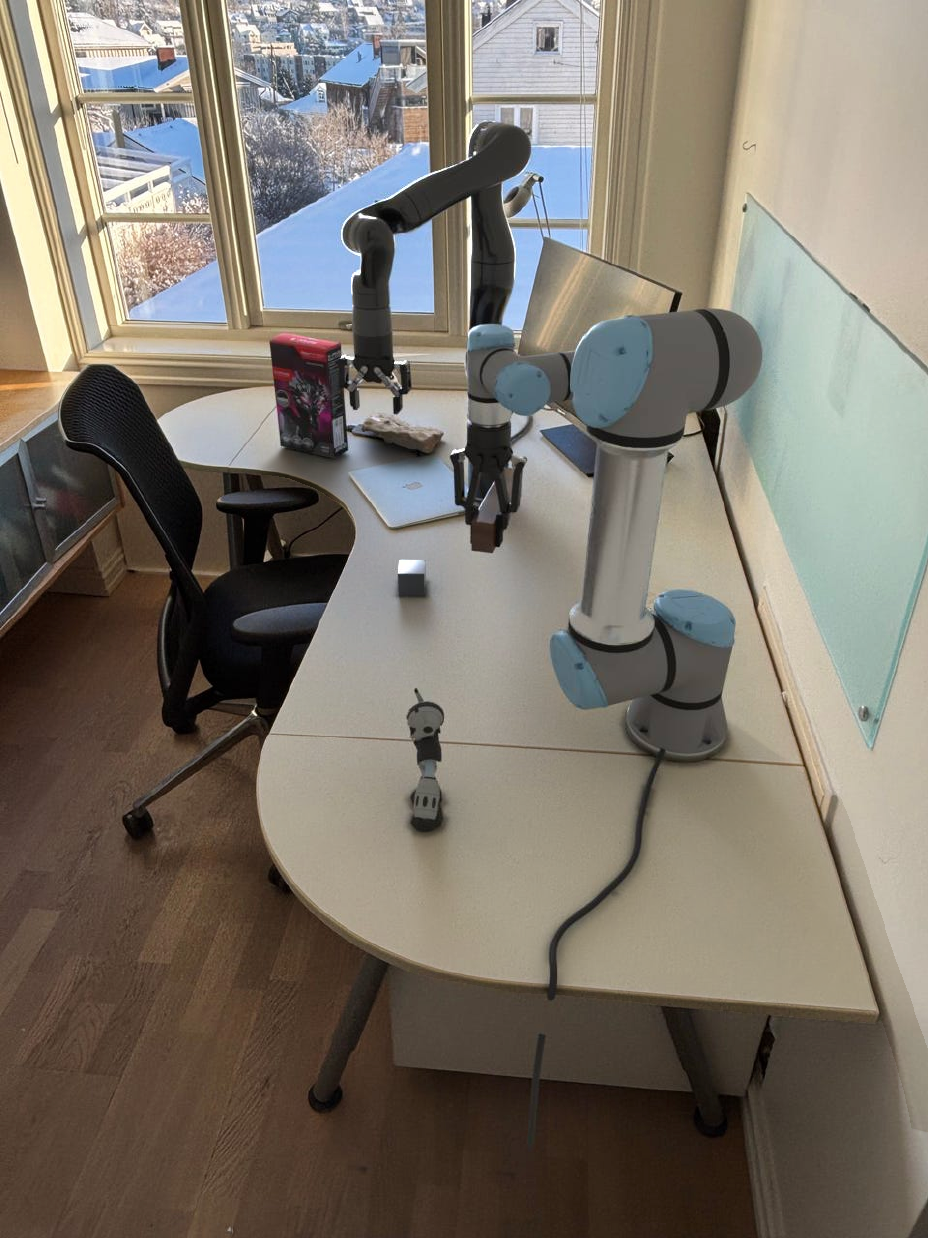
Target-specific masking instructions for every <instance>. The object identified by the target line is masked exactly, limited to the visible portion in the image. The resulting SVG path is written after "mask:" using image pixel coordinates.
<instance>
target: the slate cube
mask: <svg viewBox="0 0 928 1238" xmlns="http://www.w3.org/2000/svg"><path fill="white" fill-rule="evenodd" d="M426 567H427V565H426V559H399V561H398V568H397V591H398V597H426V585H427V568H426Z"/></svg>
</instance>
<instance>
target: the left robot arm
mask: <svg viewBox="0 0 928 1238" xmlns="http://www.w3.org/2000/svg"><path fill="white" fill-rule="evenodd" d="M466 150H467V151H466V154H467V159H465V160H463V161H461V162H459V163H457V164H455V165H452V166H450V167H446V168H443V169H441V170H438V171H434V172H431V173H429V174H427V175H424V176H423V177H420V178H418V179H417V180H414V181H413V182H411V183H409V184H408V185H407V186H405V187H403V188H402V189H400V190H399V191H398V192H396V193H395V194H393V195H391V196H390V197H388V198H386V199H382V200H379V201H377V202H374V203H372V204H370V205H367V206H365V207H363V208H361V209H359V210H357V211H355V212H354V213H352V214H351V215H350V216H349V217H348V218H347V219H346V220H345V221H344V223H343V226H342V229H341V240H342V243H343V245H344V247H345V248H346V249H347V250H348V251H349V252H351V253H353V254H355V255H357V256H360V265H359V270H357V271H356V272H354V273H353V274H352V275H351V276H352V277H351V303H352V310H351V311H352V312H351V328H352V343H353V344H352V345H353V355H354V356H353V357H351V356H349V355H348V354H344V355H342V357H341V358H340V359H339V386H340V387H341V388H344V390H345V389H346V390H347V391H348V396H349V397H348V398H349V406H350V408H352V411H358V410H359V409H360V408H361V401H360V389H359V388H358V387H359V386H360V384H361V383H362V382H363V381H365V383H376V384H382V383H383V385H385V388H387V389H389V391H390V392H391V393H392V395H393V396H392V413H393V415H399V414H400V412H401V411H402V410H403V408H404V405H403V404H404V403H403V402H404V401H403V399H404V398H403V395H405V396H406V395H408V394H409V393H410V392H411V391H412V389H413V386H412V374H411V362H410V361H409V360H407V359H406V360H404V361H396V360H395V358H394V333H393V331H394V330H393V314H392V313H393V312H392V309H391V307H392V306H391V290H390V289H391V287H390V280H391V276H392V272H393V265H394V260H395V255H396V237H395V236H396V235H408V234H412V233H414V232H415V231H417V230H418V229H420V228H421V227H423V226H424V225H426V224H427V223H429V222H431V221H432V220H433V219H435V218H437V217H438V216H440V215H441V214H443V213H444V212H446V211H448V210H449V209H451V208H452V207H454V206H456V205H458V204H460V203H461V202H463V201H465V200H468V199H469V202H470V203H469V204H470V205H469V206H470V210H469V211H470V214H469V216H470V217H469V218H470V219H469V222H470V223H469V225H470V226H469V227H470V228H469V231H470V233H469V234H470V235H469V238H470V239H469V241H470V242H469V260H468V261H469V262H468V280H469V281H468V285H469V287H468V288H469V289H468V317H469V318H468V332H467V335H468V334H469V332H470V330H471V329H472V328H474V327H476V326H479V325H485V324H498V325H503V319H504V315H505V312H506V309H507V307H508V305H509V302H510V299H511V298H512V294H513V291H514V285H515V278H516V259H517V257H516V255H517V254H516V253H517V252H516V245H515V240H514V237H513V233H512V230H511V227H510V224H509V221H508V218H507V215H506V212H505V207H504V201H503V200H504V199H503V183H504V182H507V181H509V180H511V179H513V178H516V177H517V176H519V175H520V174H522V173H523V171H524V170H526V168H527V166H528V165H529V162H530V160H531V156H532V142H531V139H530V137H529V135H528V133H527V132H526V131H525V130H524V129H523V128H522V127H520V126H518V125H515V124H512V123H507V122H500V121H494V120H483V121H481V122H479V123H478V124H476V125H475V127H474V128H473V129H472V131H471V133H470V135H469V138H468V142H467V149H466ZM467 347H468V339H467V341H466V347H465V348H466V349H465V356H464V373H465V376H466V377H467V352H466V350H467ZM352 366H353V367H354V369H355V370H356V371H357V374H356V375H355V377H354V378H353V379H352V381H351V380H350V368H351V367H352ZM395 369H396V370H397V373H398V374H399V375H400V382H399V381H398V378H397V376H396V375H395V373H394V371H395ZM400 383H401V384H400ZM513 414H514V413H513V412H512V415H513ZM526 417H527V419H526V423H525V425H524V426H523V427H522V428H521V429H520V430H519V431H517V432H516V433H515V434H514V435H511V442H512V441H514V440H515V439H516V438H519V437H520V436H521V435H522V434H524V432H525V431H526V430H527V429H528V427H529V426H530V424H531V419H532V418H531V417H532V415H529V416H526ZM511 420H512V418H511V419H510V422H511V423H512V421H511ZM504 467H506V468H510V461H509V462H508V463H507V464H506V465H505V466H504ZM472 471H473V466H472V464H471V463H470V461H469V460H468V459H467V489H466V495H467V494H468V490H469V486H470V481H471V477H472V476H471V475H472ZM494 482H495V480H494V479H493V474H491V473H488V472H483V473H481V477H480V482H479V486H478V490H477V494H476V498H475V502H481V503H482V502H483V501H484V499H485V497H486V495H487V494H488V492H489V490H490V489H491V487H492V485H493V483H494Z"/></svg>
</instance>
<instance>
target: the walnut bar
mask: <svg viewBox="0 0 928 1238" xmlns="http://www.w3.org/2000/svg"><path fill="white" fill-rule="evenodd" d="M514 470H515V469H513V468H512V467H509V468H506V467H504V471H505V472H504V475H505V481H506V486H507V492H508V497H509V503H511V496H512V483H513V473H514ZM522 490H523V486H522V487H521V493H522ZM499 509H500V507H499V501H498V496H497V491H496V485H495V482H494V483H493V485H492V487H491V489H490V490H489V492H488V494H487V495H486V497H485V499H484V501H483V502H481V504H480V506H479V507H478V511H477V513H476V514H475V516H474V518H473V520H472V527H471V544H470V546H471V547H470V550H471V552H479V553H484V554H485V553H487V554H494V552H495V549H496V548H497V547H496V514H497V513H498V511H499ZM513 514H514V513H513V512H511V513H509V521H510V520H511V518H512V516H513ZM504 532H505V530H503V533H504Z"/></svg>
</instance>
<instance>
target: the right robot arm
mask: <svg viewBox="0 0 928 1238" xmlns="http://www.w3.org/2000/svg"><path fill="white" fill-rule="evenodd" d="M467 340H468V347H467V346H466V348H467V350H466V349H465V353H466V352H467V376H466V384H467V385H466V386H467V388H466V389H467V390H466V393H467V394H466V395H467V396H466V418H467V422H466V444H465V446H464V448H462V449H459V448H455V449H454V450H453V451H452V452H451V454H450V455H449V459H450V462H451V464H452V467H453V488H454V489H453V492H454V504H455V506H457V507H462V508H463V509H464V523H465V525H466V526H470V527H469V528H470V530H469V531H470V533H469V535H470V537H469V539H470V540H469V541H470V543H469V544H470V545H471V527H472V520H473V518H474V516H475V514H476V513H477V511H478V509H479V504H475V502H476V500H475V498H476V494H477V490H478V486H479V482H480V477H481V473H483V472H488V473H491V474H493V479H494V480H495V485H496V491H497V496H498V501H499V507H500V509H499V511H498V513H497V514H496V548H500V547H501V545H502V544H503V541H504V532H503V530H504V531H506V530H507V529H508V527H509V525H510V520H509V513H511V512H513V514H516V513H517V512H518V510H519V508H520V507H521V500H522V499H521V498H522V492H521V487H522V488H523V476H524V475H523V473H524V468H525V466H526V464H527V462H528V458H527V456H524V455H522V456H519V455H517V454H515V453H514V450H513V448H512V445H511V443H512V441H511V437H512V421H511V422H510V419H511V420H512V418H513V417H512V416H513V414H515V415H517V416H522V417H527V416H529V415H530V416H532V415H535V414H536V413H538V412H539V411H541V410H543V408H544V407H545V406H546V405H547V404H554V403H560V402H565V401H571V402H572V407H573V409H574V411H575V414H576V416H577V418H578V419H579V420H580V421H581V422H582V423H583V424H584V425H585V429H586V433H587V435H588V436H589V437H590V438H591V439H592V440H593V441H594V442H595V443H596V451H595V461H594V470H593V471H594V472H593V481H592V490H591V491H592V492H591V502H590V512H589V522H588V533H587V543H586V553H585V564H584V574H583V584H582V594H581V600H579V601H578V602H576V603H575V604H574V605H573V606H572V607H571V609H570V611H569V613H568V623H567V629H559V630H558V631H556V632H554V633H553V634H552V635H551V637H550V640H549V654H550V661H551V665H552V668H553V669H552V670H553V672H554V675H555V677H556V680H557V682H558V685H559V687H560V689H561V691H562V692H563V694H564V696H565V697H566V698H567V700H568V701H569V702H570V703H571V705H573V706H574V707H576V708H577V709H580V710H583V711H588V710H593V709H594V710H595V709H601V708H608V707H609V706H614V705H617V704H621V703H625V702H628V701H631V702H630V704H629V706H628V708H627V711H626V719H625V728H626V732H627V734H628V736H629V738H630V739H631V741H632V742H634V744H636V745H637V746H638V747H639V748H640V749H641V750H643V751H645V752H646V753H648V754H650V755H651V756H654V757H656V758H655V761H654V762H653V765H652V768H651V770H650V772H649V775H648V777H647V780H646V783H645V786H644V789H643V793H642V796H641V800H640V803H639V809H638V814H637V818H636V824H635V836H634V845H633V850H632V854H631V856H630V858H629V860H628V862H627V863H626V865H625V866H624V868H623V869H622V871H621V872H620V873H619V874H618V875H617V876H616V877H615V878H614V879H613V880H612V881H611V882H610V883H609V884H608V885H607V886H605V888H603V889H602V890H601V891H600V892H599V893H598V894H597V895H596V896H595V897H594V898H593V899H592V900H591V901H589V902H588V903H587V904H585V906H583V907H582V908H580V909H578V910H577V911H575V912H574V913H573V914H571V915H570V916H569V917H568V918H567V919H565V920H564V922H562V923H561V925H560V926H559V927H558V928H557V930H556V931H555V933H554V935H553V937H552V939H551V942H550V945H549V949H548V963H549V982H548V989H547V996H546V997H547V999H548V1001H553V1000H555V997H556V993H557V986H558V962H557V951H558V946H559V943H560V940H561V939H562V937H563V936H564V934H565V933H566V932H567V930H568V929H569V928H570V927H571V926H572V925H574V924H575V923H576V922H577V921H579V920H580V919H582V918H583V917H584V916H586V915H588V913H591V911H593V910H594V909H595V908H596V907H598V905H600V904H601V902H603V901H604V900H605V899H606V898H607V896H609V895H610V894H611V893H612V892H613V891H614V890H615V889H616V888H618V886H620V884H621V883H623V881H624V880H625V879H626V878H627V877H628V876H629V874H630V873H631V871H632V870H633V868H634V866H635V865H636V863H637V860H638V858H639V855H640V851H641V848H642V839H643V827H644V826H643V825H644V819H645V814H646V810H647V806H648V800H649V797H650V793H651V789H652V787H653V783H654V780H655V777H656V775H657V773H658V770H659V769H660V765H661V763H662V761H663V760H666V761H670V762H675V763H694V762H700V761H703V760H706V759H709V758H711V757H714V755H716V754H718V752H720V751H721V750H722V748H723V747H724V744H725V743H726V740H727V739H726V738H727V734H728V721H727V716H726V712H725V708H724V707H725V706H724V701H723V692H724V686H725V682H726V678H727V672H728V668H729V664H730V659H731V654H732V651H733V647H734V645H735V642H736V639H735V632H736V627H737V626H736V617H735V616H734V614H733V612H732V611H731V609H730V608H729V607H728V606H727V605H726V604H724V603H723V602H722V601H720V600H719V599H717V598H715V597H713V596H710V595H709V594H706V593H703V592H699V591H695V590H692V589H691V590H690V589H670V590H666V591H663V592H661V593H660V594H659V595H658V596H657V597H656V600H655V601H654V602H653V610H652V611H650V610H649V609H648V608H647V607H646V606H647V601H648V592H649V587H650V586H649V585H650V580H651V573H652V565H653V558H654V552H655V545H656V538H657V531H658V523H659V517H660V510H661V504H662V496H663V489H664V482H665V475H666V469H667V464H668V463H667V462H668V455H669V450H670V449H672V448H673V447H675V446H676V445H678V444H680V443H681V441H682V440H683V439H684V435H685V429H686V423H687V417H688V415H689V414H694V413H700V412H706V411H711V410H715V409H716V410H717V409H719V408H723V407H726V406H728V405H730V404H732V403H734V402H735V401H738V400H739V399H740V398H742V397H743V396H744V395H745V394H746V393H747V392H748V391H749V390H750V389H751V387H753V385H754V384H755V382H756V380H757V378H758V377H759V374H760V371H761V368H762V363H763V347H762V341H761V339H760V336H759V334H758V332H757V331H756V329H755V328H754V326H753V325H752V324H751V323H750V322H749V321H748V320H747V319H746V318H744V317H743V316H742V315H740V314H738V313H737V312H734V311H731V310H727V309H723V308H712V307H711V308H698V309H693V310H681V311H680V310H679V311H672V312H671V311H670V312H663V313H654V314H653V313H652V314H641V315H636V314H626V315H624V316H621V317H619V318H613V319H608V320H602V321H600V322H598V323H596V324H594V325H593V326H591V328H589V330H588V331H587V332H585V334H583V336H582V337H581V339H580V341H579V343H578V345H577V347H576V349H575V350H568V351H561V352H550V353H542V354H533V355H521V354H519V353H517V352H516V351H515V346H516V343H515V333H514V330H513V329H512V328H511V327H509V326H507V325H505V324H504V325H503V324H502V325H498V324H485V325H479V326H476V327H474V328H472V329H471V330H470V332H469V334H468V333H467ZM512 412H513V414H512ZM466 459H467V461H468V460H469V461H470V463H471V464H472V466H473V471H472V475H471V476H472V477H471V481H470V486H469V490H468V494H467V493H466V488H465V486H466V485H465V462H464V461H465V460H466ZM508 462H509V463H510V462H511V468H513V469H515V470H514V473H513V483H512V496H511V503H509V497H508V492H507V486H506V481H505V475H504V472H505V471H504V466H505V465H506V464H507V463H508ZM537 1036H538V1037H537V1042H536V1047H535V1048H536V1049H535V1055H534V1061H533V1070H532V1078H531V1089H530V1090H531V1091H530V1102H529V1114H528V1115H529V1116H528V1125H527V1136H526V1137H527V1139H526V1147H527V1148H529V1149H531V1148H532V1147H533V1146H534V1141H535V1131H536V1120H537V1109H538V1099H539V1087H540V1079H541V1072H542V1071H541V1069H542V1063H543V1057H544V1049H545V1044H546V1038H547V1035H546V1034H543V1033H540V1032H539V1033H538V1035H537Z"/></svg>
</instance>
